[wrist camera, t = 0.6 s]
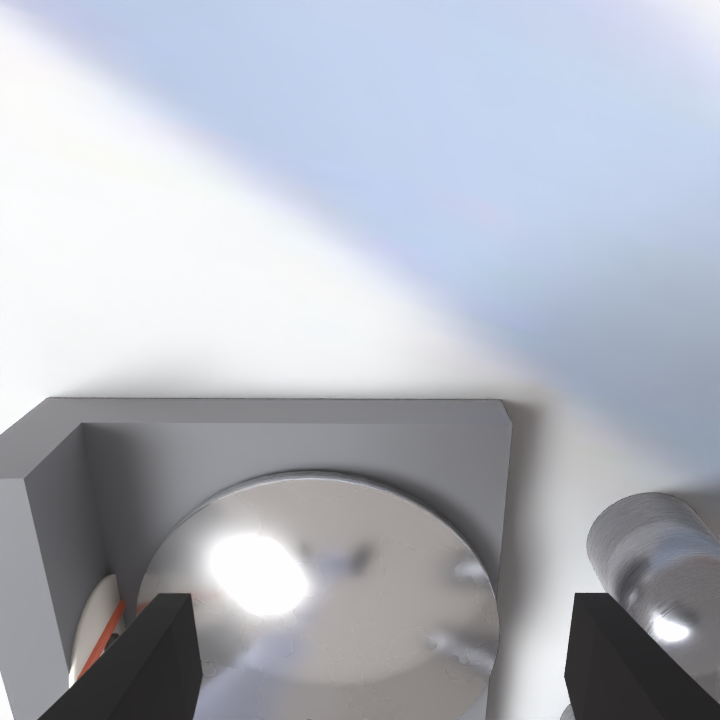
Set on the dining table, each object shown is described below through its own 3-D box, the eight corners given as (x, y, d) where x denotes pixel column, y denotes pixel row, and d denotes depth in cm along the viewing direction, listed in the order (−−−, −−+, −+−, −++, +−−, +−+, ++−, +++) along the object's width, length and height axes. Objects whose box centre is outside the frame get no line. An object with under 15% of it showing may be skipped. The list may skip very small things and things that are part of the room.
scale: (473, 731, 25) (497, 877, 20) (114, 725, 25) (51, 867, 20) (500, 399, 20) (542, 486, 15) (46, 398, 20) (-60, 482, 15)
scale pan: (484, 752, 22) (486, 768, 22) (164, 747, 23) (159, 762, 22) (510, 472, 18) (514, 483, 18) (118, 469, 18) (110, 480, 18)
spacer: (689, 586, 22) (775, 707, 17) (580, 585, 22) (635, 705, 17) (711, 492, 21) (810, 597, 16) (594, 492, 21) (658, 595, 16)
